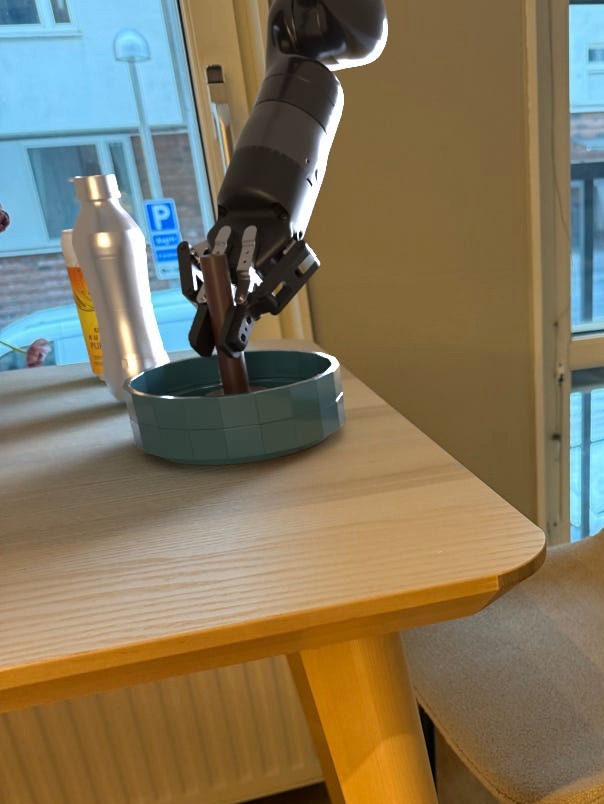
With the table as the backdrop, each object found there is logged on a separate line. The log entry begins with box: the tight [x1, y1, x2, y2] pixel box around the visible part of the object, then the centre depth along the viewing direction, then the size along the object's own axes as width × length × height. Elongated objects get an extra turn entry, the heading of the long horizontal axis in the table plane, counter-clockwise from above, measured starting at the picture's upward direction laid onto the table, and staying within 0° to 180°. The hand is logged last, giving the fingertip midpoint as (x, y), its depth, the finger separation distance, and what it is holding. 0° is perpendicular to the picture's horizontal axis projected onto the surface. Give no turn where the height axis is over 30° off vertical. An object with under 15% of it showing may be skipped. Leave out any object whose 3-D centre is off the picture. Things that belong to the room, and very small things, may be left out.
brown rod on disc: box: [199, 254, 268, 396], centre depth 77 cm, size 6×6×13 cm
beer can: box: [60, 228, 105, 382], centre depth 99 cm, size 6×6×15 cm
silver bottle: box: [72, 174, 171, 403], centre depth 87 cm, size 6×7×20 cm
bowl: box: [122, 348, 347, 466], centre depth 77 cm, size 17×17×6 cm
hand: (213, 351), depth 76 cm, fingers closed on brown rod on disc
